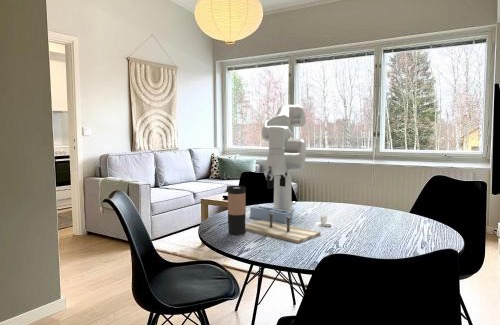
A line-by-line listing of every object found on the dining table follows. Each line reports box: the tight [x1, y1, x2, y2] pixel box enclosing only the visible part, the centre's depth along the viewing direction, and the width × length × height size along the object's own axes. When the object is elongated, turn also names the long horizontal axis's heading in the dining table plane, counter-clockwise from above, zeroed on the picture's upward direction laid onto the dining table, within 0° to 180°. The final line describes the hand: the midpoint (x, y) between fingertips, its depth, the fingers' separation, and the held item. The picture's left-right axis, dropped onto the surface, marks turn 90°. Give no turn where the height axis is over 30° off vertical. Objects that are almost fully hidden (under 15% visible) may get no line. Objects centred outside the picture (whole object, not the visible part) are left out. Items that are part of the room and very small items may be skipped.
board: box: [245, 213, 322, 244], centre depth 167 cm, size 16×32×7 cm, turn 47°
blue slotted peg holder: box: [249, 205, 294, 225], centre depth 189 cm, size 6×22×5 cm, turn 47°
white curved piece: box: [315, 215, 333, 227], centre depth 180 cm, size 9×8×4 cm
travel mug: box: [227, 185, 247, 236], centre depth 164 cm, size 8×8×20 cm
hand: (276, 187), depth 186 cm, fingers open, 9 cm apart
